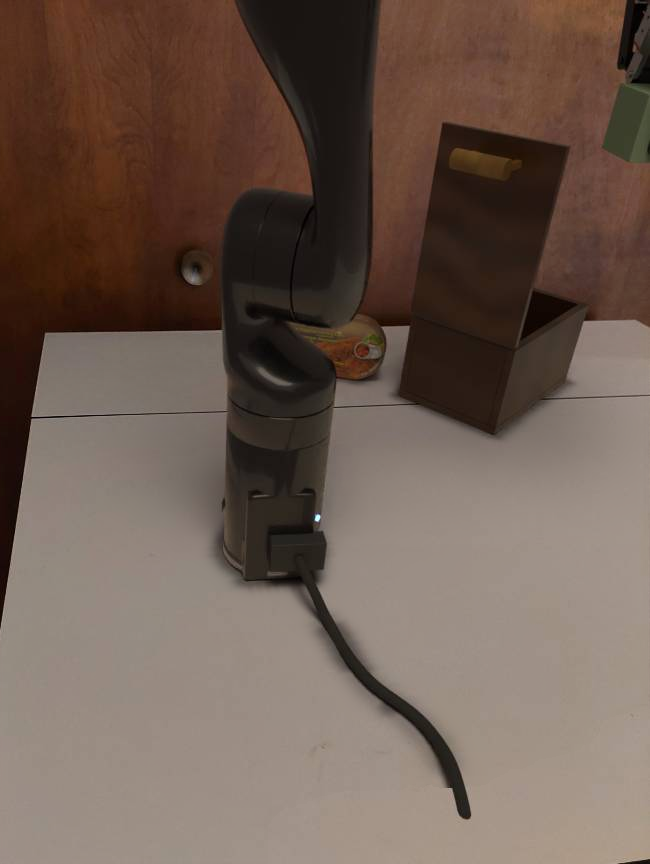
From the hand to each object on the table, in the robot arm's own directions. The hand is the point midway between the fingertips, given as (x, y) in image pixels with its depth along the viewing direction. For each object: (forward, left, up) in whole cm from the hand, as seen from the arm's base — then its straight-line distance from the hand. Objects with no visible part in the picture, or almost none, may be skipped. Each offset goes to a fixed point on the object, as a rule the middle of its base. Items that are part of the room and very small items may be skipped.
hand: (644, 146), depth 61 cm
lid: (+24, +1, -14) cm, 28 cm away
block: (0, 0, -1) cm, 1 cm away
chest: (+30, -6, -36) cm, 47 cm away
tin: (+36, +14, -37) cm, 53 cm away
